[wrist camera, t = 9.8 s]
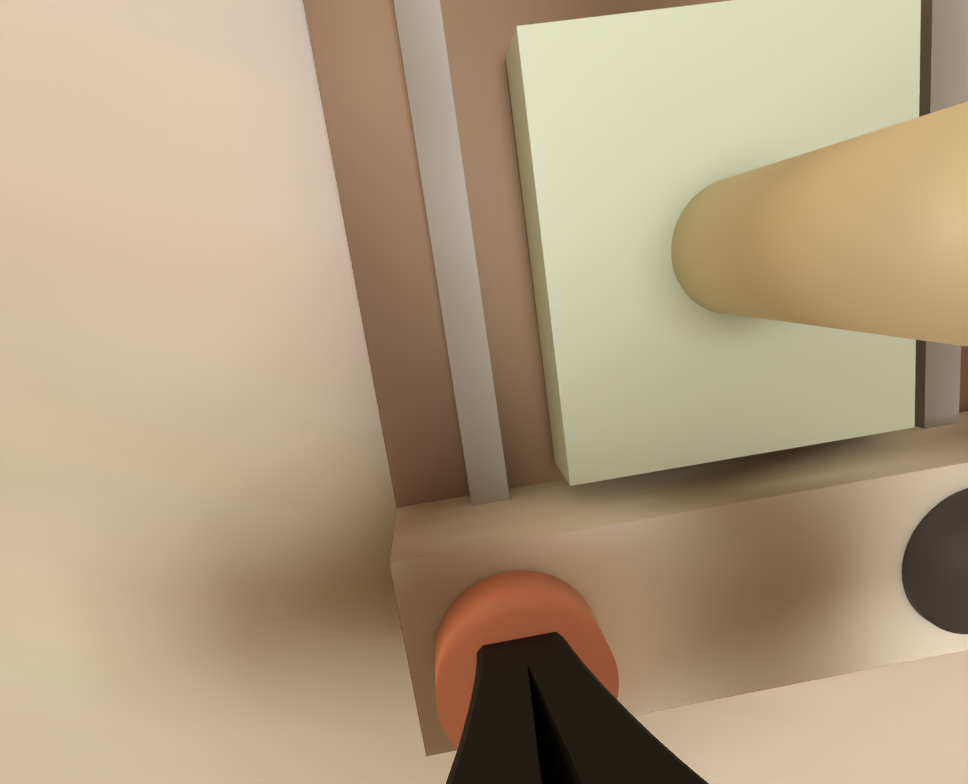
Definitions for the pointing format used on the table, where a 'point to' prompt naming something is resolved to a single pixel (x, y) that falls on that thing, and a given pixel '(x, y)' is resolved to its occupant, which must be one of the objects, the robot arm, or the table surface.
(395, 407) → the rail
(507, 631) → the button
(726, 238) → the carriage
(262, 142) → the table surface
